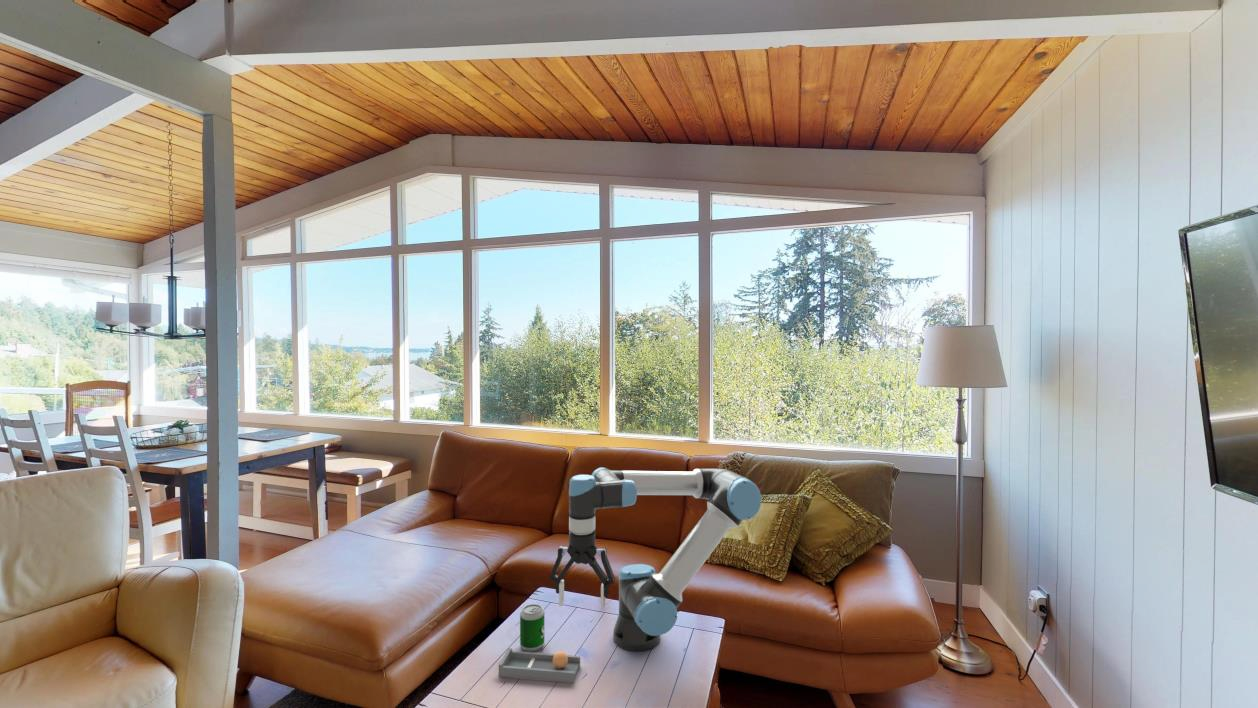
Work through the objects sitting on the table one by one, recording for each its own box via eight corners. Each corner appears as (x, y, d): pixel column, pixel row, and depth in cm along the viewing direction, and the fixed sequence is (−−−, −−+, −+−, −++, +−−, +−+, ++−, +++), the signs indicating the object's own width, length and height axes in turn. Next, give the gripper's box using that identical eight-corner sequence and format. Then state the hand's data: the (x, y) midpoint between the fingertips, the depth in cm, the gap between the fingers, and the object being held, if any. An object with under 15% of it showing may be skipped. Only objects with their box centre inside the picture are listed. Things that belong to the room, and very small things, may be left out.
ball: (569, 663, 158) (569, 648, 158) (565, 672, 154) (565, 657, 154) (554, 662, 159) (554, 647, 159) (550, 671, 154) (550, 656, 154)
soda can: (539, 654, 165) (539, 616, 165) (516, 651, 167) (516, 613, 166) (547, 641, 173) (547, 604, 172) (525, 638, 174) (525, 601, 174)
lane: (580, 665, 160) (580, 653, 160) (574, 683, 152) (574, 670, 152) (508, 659, 163) (508, 648, 162) (498, 676, 154) (498, 664, 154)
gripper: (625, 527, 157) (624, 601, 157) (545, 523, 160) (545, 596, 160) (621, 537, 149) (621, 614, 150) (538, 533, 152) (538, 609, 153)
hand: (582, 605), depth 155 cm, fingers open, 11 cm apart
